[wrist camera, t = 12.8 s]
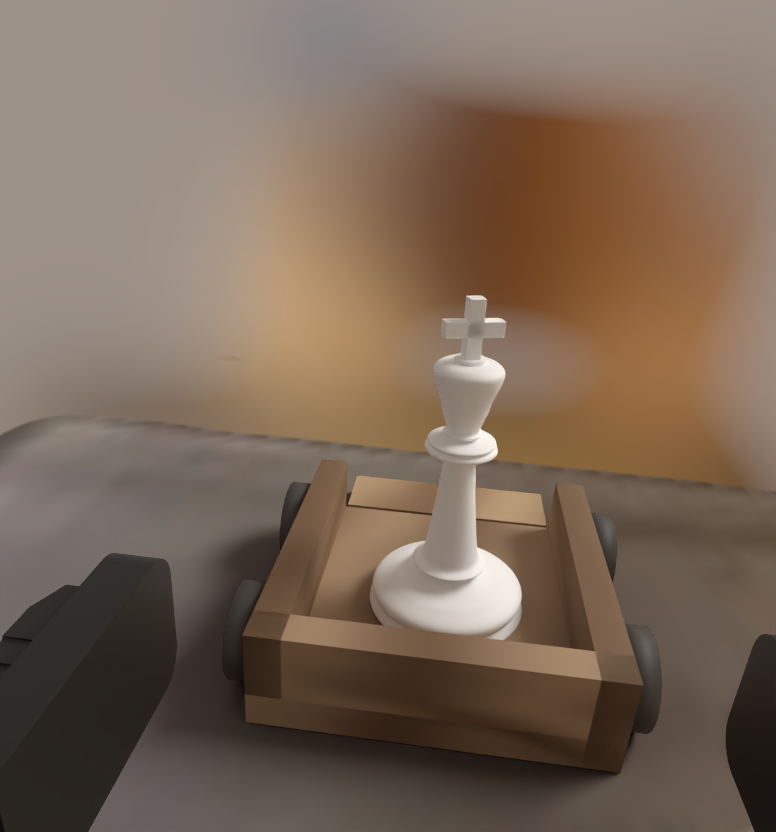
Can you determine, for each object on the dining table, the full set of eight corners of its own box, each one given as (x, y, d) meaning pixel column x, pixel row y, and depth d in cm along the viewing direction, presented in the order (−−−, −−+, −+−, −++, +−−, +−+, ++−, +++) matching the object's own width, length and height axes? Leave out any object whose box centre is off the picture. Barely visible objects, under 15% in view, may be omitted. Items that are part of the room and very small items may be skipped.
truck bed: (579, 514, 29) (591, 452, 28) (651, 777, 18) (677, 689, 16) (317, 487, 30) (318, 426, 29) (217, 718, 19) (211, 631, 17)
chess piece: (357, 562, 24) (368, 277, 20) (489, 549, 25) (526, 277, 21) (388, 663, 19) (410, 324, 15) (547, 644, 20) (606, 322, 16)
